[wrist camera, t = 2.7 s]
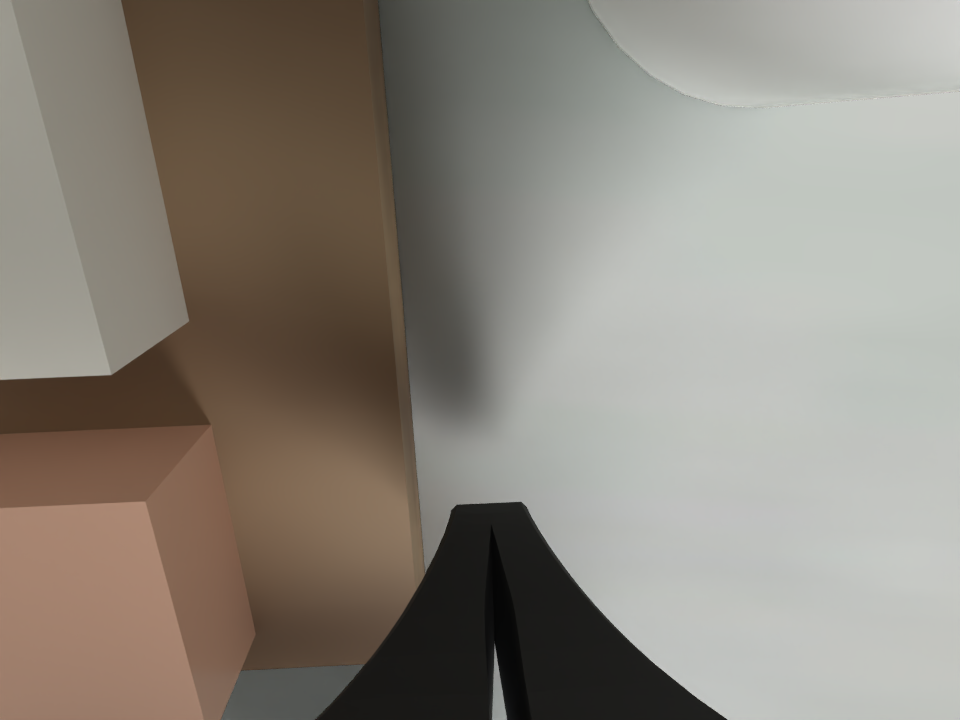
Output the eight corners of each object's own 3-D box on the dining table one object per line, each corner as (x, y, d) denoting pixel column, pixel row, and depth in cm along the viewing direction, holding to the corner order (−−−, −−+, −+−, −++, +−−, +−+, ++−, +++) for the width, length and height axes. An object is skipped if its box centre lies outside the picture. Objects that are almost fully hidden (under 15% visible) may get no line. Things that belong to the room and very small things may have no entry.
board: (427, 596, 15) (422, 661, 13) (-56, 620, 15) (-129, 689, 13) (373, -59, 10) (353, -101, 8) (-344, -35, 10) (-528, -74, 8)
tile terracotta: (255, 633, 13) (210, 744, 11) (20, 645, 13) (-78, 759, 11) (210, 424, 11) (145, 501, 9) (-63, 437, 11) (-202, 517, 9)
